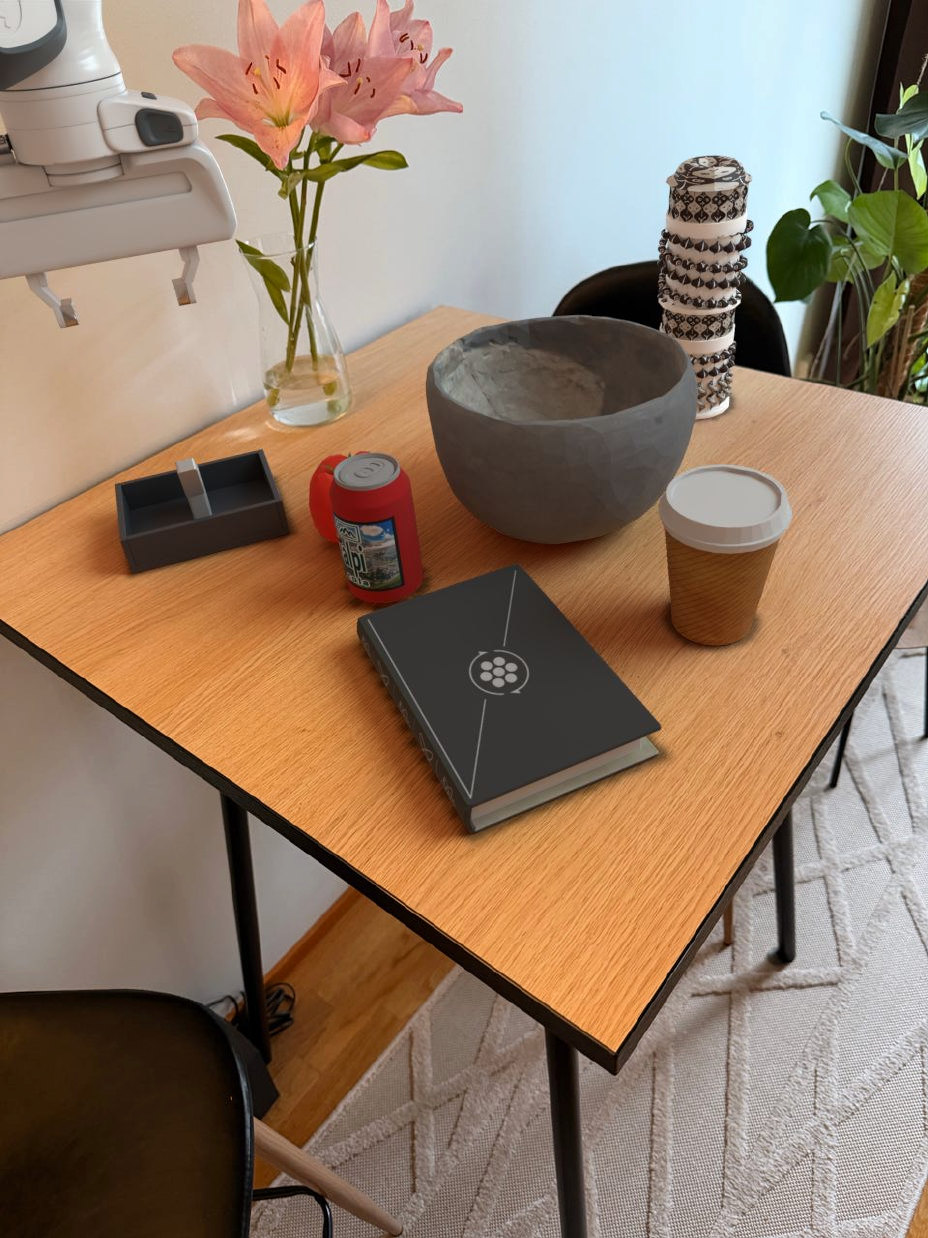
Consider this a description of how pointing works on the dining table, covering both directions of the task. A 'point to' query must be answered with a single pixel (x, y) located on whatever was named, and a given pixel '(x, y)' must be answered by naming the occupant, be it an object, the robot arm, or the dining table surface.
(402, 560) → the beverage can
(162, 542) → the tray
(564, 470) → the bowl
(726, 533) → the disposable coffee cup
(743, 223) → the patterned white cylinder
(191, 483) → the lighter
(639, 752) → the book
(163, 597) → the dining table surface
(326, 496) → the tomato
